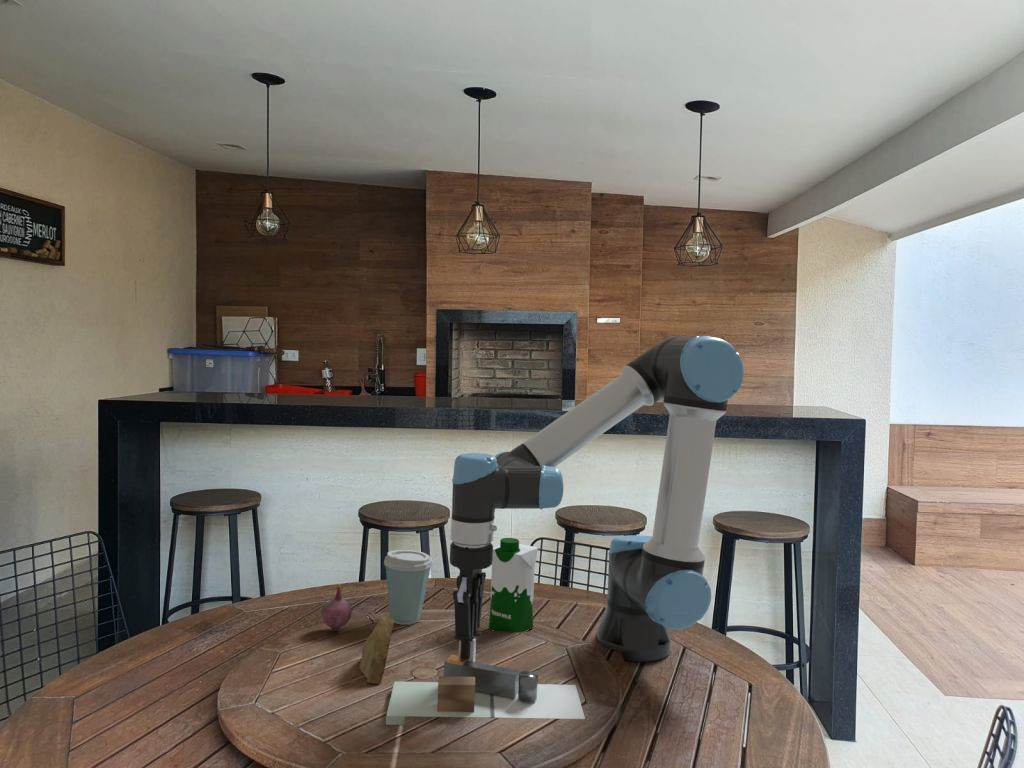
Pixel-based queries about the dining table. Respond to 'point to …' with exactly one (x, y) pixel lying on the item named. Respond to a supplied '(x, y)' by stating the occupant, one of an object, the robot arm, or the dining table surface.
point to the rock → (376, 650)
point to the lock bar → (495, 678)
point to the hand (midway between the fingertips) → (466, 673)
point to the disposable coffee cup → (406, 584)
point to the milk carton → (512, 586)
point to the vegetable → (336, 611)
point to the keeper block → (456, 694)
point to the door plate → (484, 703)
